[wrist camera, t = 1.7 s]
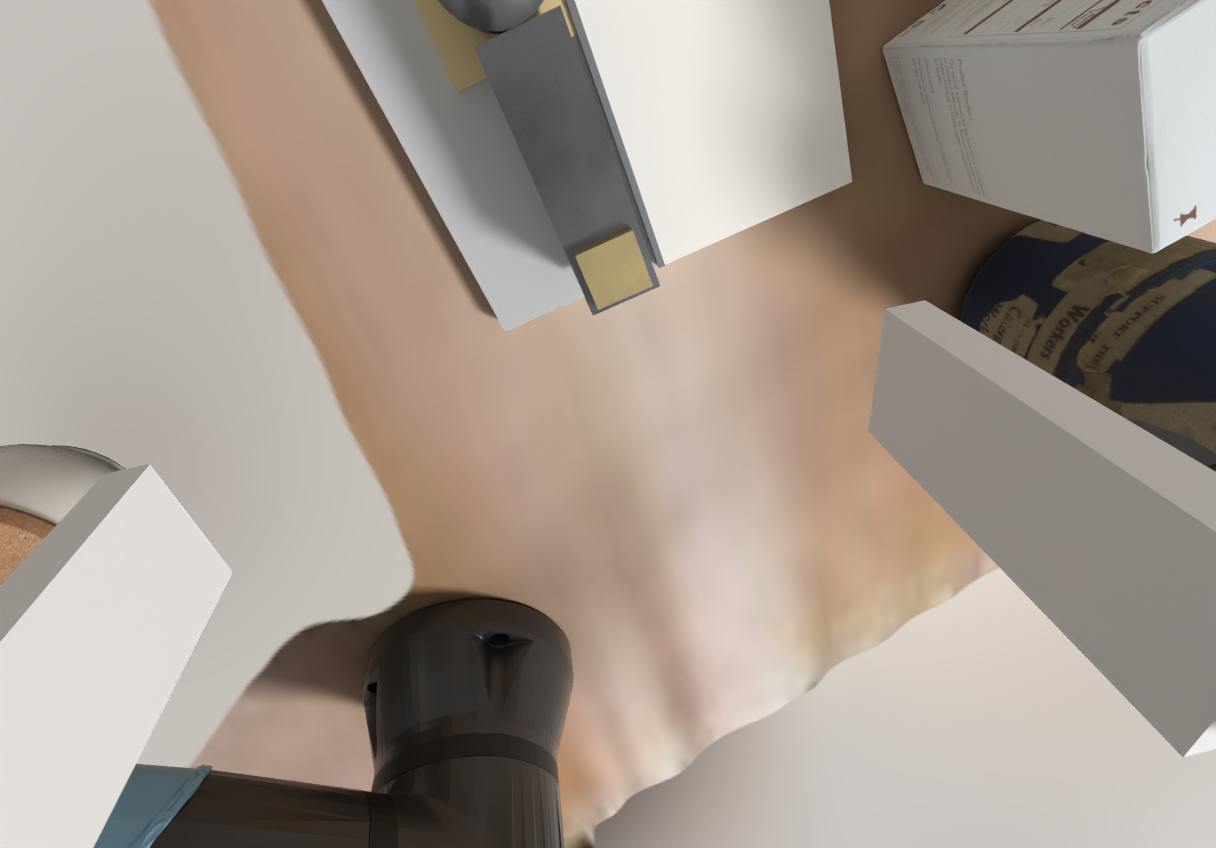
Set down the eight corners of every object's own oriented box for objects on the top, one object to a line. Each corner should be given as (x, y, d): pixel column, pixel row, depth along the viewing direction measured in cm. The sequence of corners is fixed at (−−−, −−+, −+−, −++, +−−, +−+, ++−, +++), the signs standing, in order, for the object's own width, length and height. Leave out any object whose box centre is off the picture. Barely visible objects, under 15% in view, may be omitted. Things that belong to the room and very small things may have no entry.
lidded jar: (-97, 409, 27) (-333, 552, 20) (153, 403, 29) (28, 532, 21) (14, 568, 33) (-134, 727, 25) (218, 555, 35) (138, 699, 27)
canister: (950, 238, 31) (1364, 412, 16) (1121, 178, 31) (1704, 300, 16) (943, 382, 36) (1249, 613, 22) (1088, 333, 36) (1501, 532, 21)
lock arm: (407, -78, 19) (384, -109, 16) (514, -133, 19) (517, -178, 15) (571, 286, 27) (583, 325, 23) (649, 251, 27) (674, 285, 23)
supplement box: (1060, 94, 28) (1397, 121, 17) (918, 187, 29) (1151, 264, 19) (1038, -76, 24) (1456, -172, 13) (876, 41, 25) (1139, 36, 15)
